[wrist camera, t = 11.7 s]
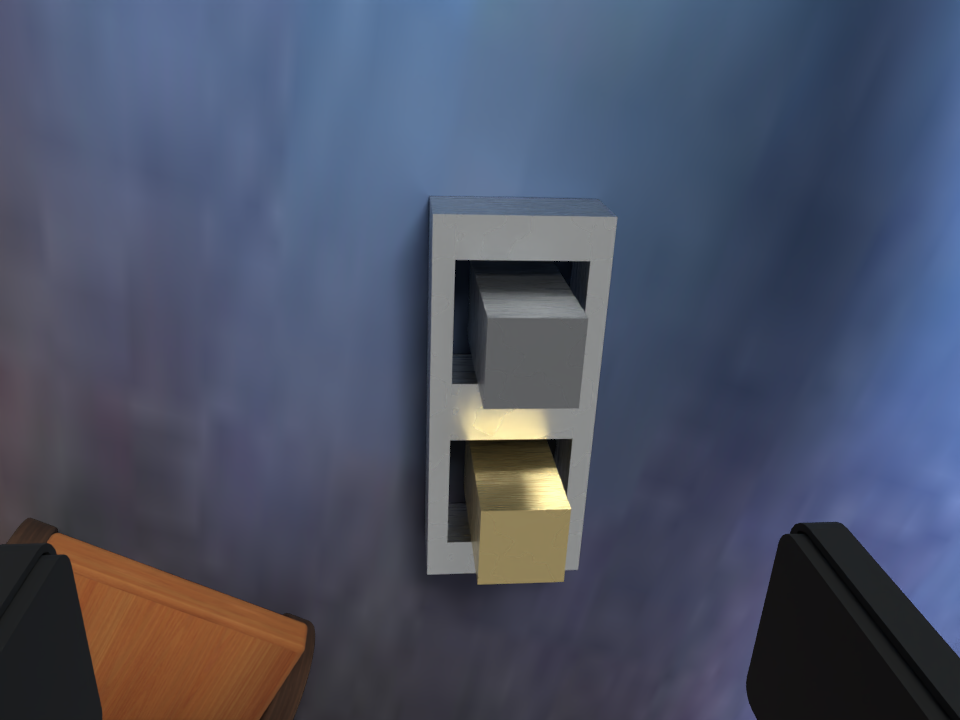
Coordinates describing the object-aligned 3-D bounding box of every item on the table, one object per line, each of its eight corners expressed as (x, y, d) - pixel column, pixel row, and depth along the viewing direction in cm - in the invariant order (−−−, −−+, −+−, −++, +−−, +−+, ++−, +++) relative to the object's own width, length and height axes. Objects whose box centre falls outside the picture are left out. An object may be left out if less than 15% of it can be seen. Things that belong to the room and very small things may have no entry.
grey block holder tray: (598, 199, 37) (617, 217, 34) (564, 530, 45) (578, 569, 42) (429, 196, 37) (432, 213, 33) (424, 533, 44) (427, 574, 41)
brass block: (540, 422, 42) (571, 509, 35) (535, 486, 44) (563, 581, 36) (466, 423, 42) (481, 511, 34) (463, 487, 43) (477, 584, 36)
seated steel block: (552, 259, 38) (588, 318, 31) (545, 335, 40) (579, 408, 33) (470, 258, 38) (487, 317, 31) (467, 335, 40) (483, 408, 32)
